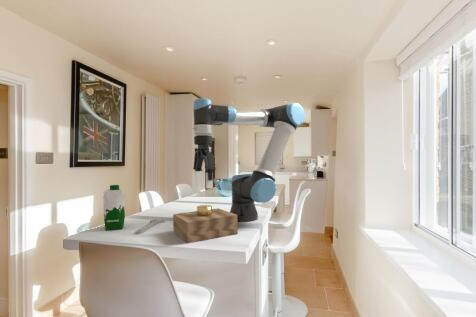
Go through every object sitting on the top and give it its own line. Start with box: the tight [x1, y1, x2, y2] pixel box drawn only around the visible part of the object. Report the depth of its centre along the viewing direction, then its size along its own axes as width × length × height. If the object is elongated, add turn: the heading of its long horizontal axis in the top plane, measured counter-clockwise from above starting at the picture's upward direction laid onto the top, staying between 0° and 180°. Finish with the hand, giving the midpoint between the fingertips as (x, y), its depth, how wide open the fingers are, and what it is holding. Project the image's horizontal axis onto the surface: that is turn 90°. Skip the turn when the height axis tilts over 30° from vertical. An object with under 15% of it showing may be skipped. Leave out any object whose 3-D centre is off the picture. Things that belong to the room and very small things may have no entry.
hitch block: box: [172, 208, 239, 244], centre depth 119 cm, size 22×18×8 cm
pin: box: [196, 204, 213, 216], centre depth 119 cm, size 6×6×11 cm
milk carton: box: [102, 184, 126, 231], centre depth 130 cm, size 9×9×20 cm
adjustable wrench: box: [135, 217, 166, 235], centre depth 132 cm, size 25×6×2 cm, turn 168°
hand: (204, 187), depth 119 cm, fingers open, 10 cm apart
